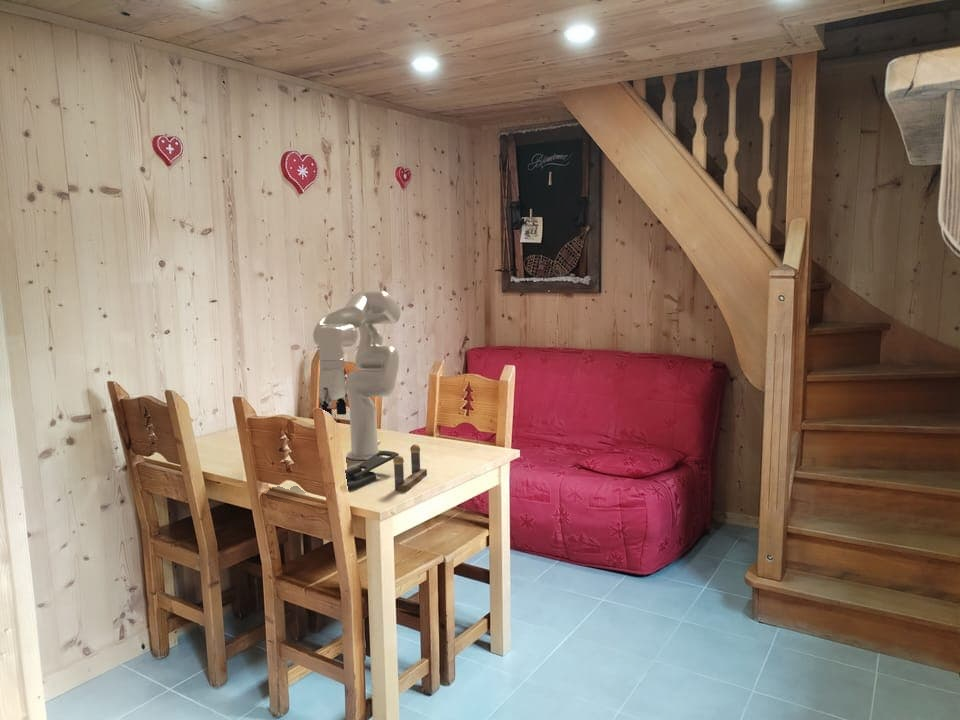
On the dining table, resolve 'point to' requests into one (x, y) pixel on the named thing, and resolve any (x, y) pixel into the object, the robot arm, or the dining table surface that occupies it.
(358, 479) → the zipper pull
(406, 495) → the dining table surface
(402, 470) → the peg stop rail
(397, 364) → the robot arm
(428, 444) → the dining table surface
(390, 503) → the dining table surface
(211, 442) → the dining table surface
